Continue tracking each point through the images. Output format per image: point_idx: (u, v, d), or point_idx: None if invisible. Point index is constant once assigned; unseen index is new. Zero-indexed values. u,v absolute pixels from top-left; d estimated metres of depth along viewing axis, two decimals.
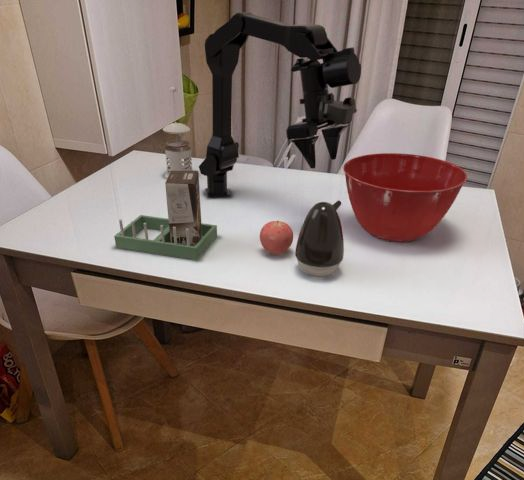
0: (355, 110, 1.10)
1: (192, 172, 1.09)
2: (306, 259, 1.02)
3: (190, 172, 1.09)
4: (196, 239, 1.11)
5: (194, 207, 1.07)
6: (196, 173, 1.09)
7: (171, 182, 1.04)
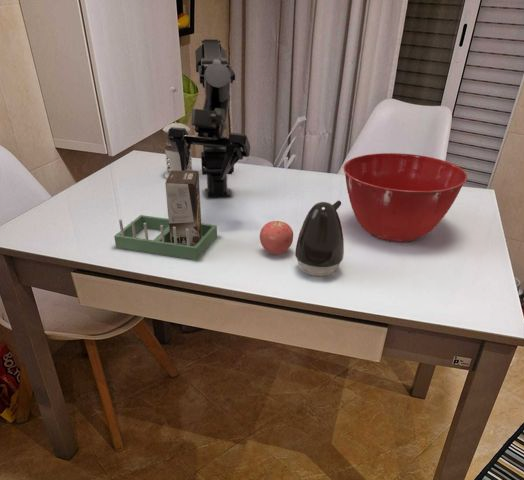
0: (213, 115, 1.07)
1: (192, 172, 1.09)
2: (306, 259, 1.02)
3: (190, 172, 1.09)
4: (196, 239, 1.11)
5: (194, 207, 1.07)
6: (196, 173, 1.09)
7: (171, 182, 1.04)
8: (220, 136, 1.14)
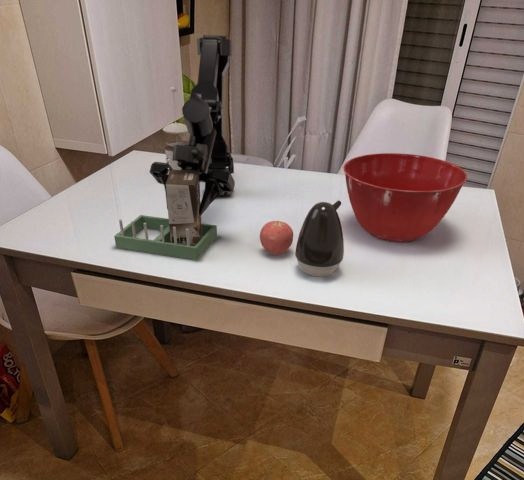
0: (194, 151, 1.04)
1: (193, 172, 1.09)
2: (306, 259, 1.02)
3: (191, 172, 1.08)
4: (196, 239, 1.11)
5: (194, 208, 1.06)
6: (197, 173, 1.08)
7: (172, 183, 1.03)
8: (204, 171, 1.11)
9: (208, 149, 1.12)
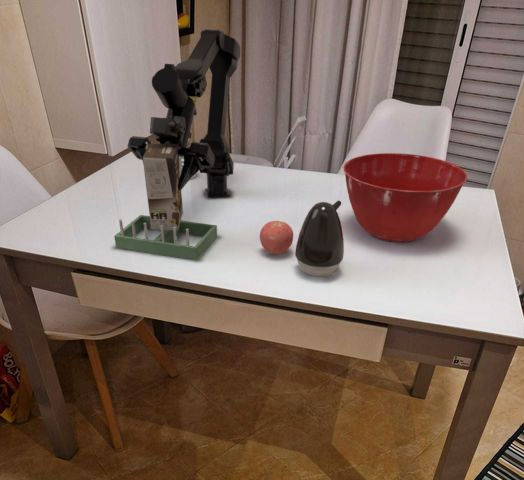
0: (172, 124, 1.02)
1: (171, 145, 1.07)
2: (306, 259, 1.02)
3: (169, 145, 1.06)
4: (176, 215, 1.09)
5: (173, 182, 1.04)
6: (175, 147, 1.06)
7: (149, 156, 1.01)
8: (183, 145, 1.09)
9: (187, 123, 1.09)
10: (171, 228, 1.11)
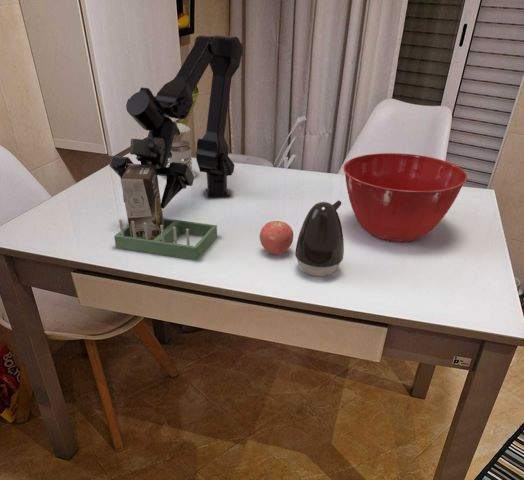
0: (151, 145, 1.06)
1: (149, 166, 1.11)
2: (306, 259, 1.02)
3: (147, 166, 1.11)
4: (155, 233, 1.13)
5: (151, 202, 1.08)
6: (153, 167, 1.10)
7: (126, 177, 1.06)
8: (163, 165, 1.13)
9: (167, 143, 1.13)
10: None
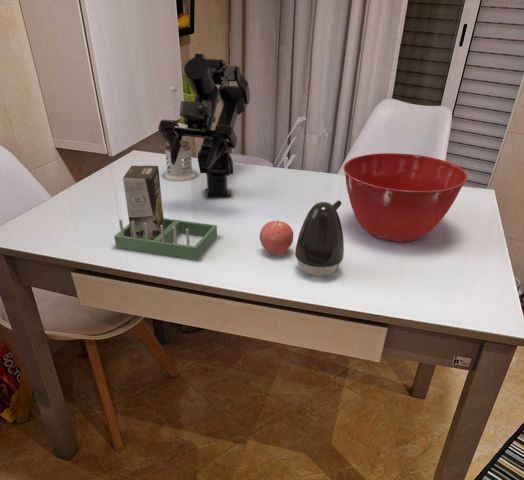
0: (200, 107, 1.14)
1: (151, 167, 1.12)
2: (306, 259, 1.02)
3: (149, 167, 1.11)
4: (156, 233, 1.13)
5: (152, 201, 1.09)
6: (155, 168, 1.11)
7: (129, 177, 1.06)
8: (208, 128, 1.21)
9: (212, 107, 1.21)
10: None
